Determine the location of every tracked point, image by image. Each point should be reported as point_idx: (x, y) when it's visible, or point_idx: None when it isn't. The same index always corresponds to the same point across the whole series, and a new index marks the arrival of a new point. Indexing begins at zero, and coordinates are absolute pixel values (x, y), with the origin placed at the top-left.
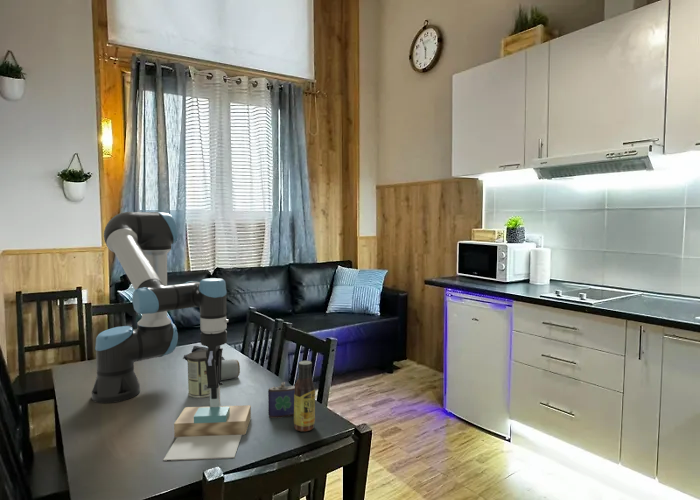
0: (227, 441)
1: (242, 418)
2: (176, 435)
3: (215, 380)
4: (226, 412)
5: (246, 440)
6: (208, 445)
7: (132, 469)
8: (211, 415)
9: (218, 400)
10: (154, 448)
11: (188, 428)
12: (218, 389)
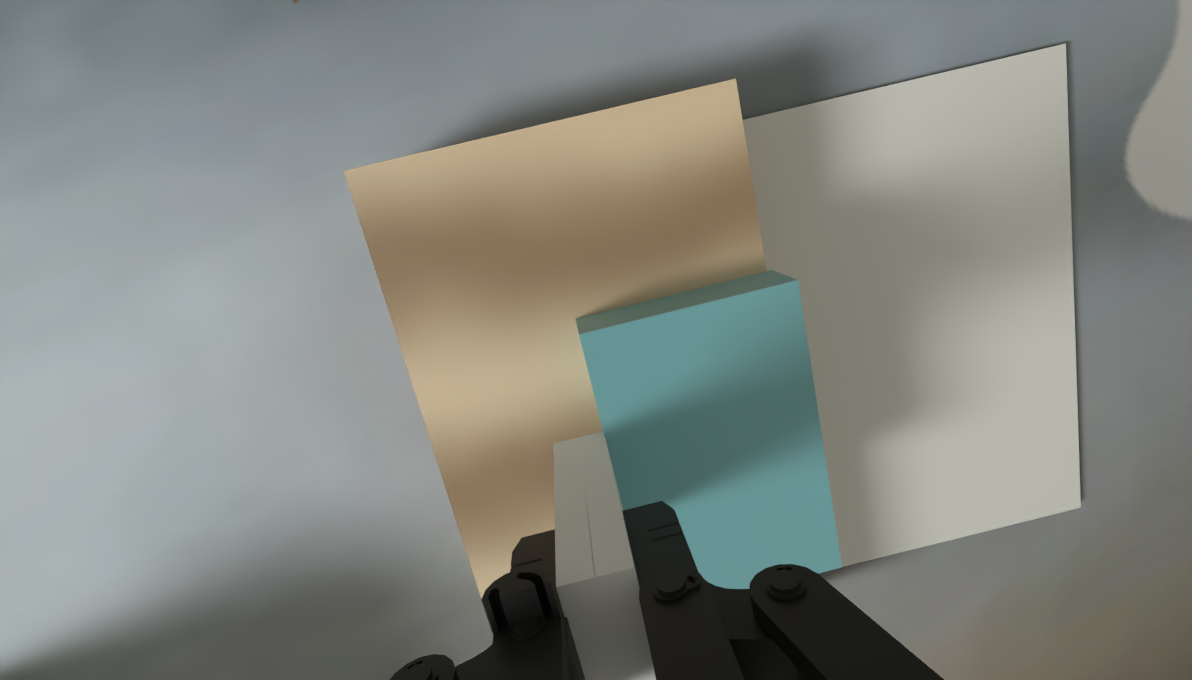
0: (843, 197)
1: (677, 135)
2: None
3: (930, 669)
4: (728, 303)
5: (794, 50)
6: (906, 314)
7: (1152, 610)
8: (809, 422)
9: (614, 477)
10: (931, 630)
11: None
12: (630, 554)
